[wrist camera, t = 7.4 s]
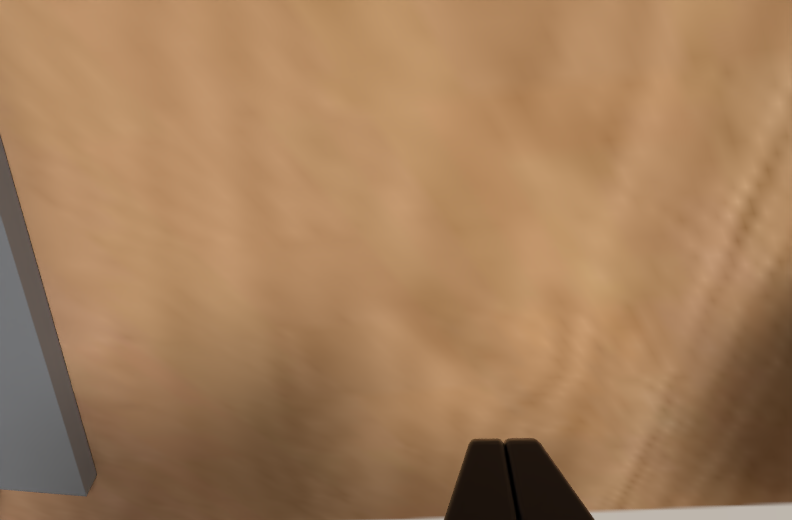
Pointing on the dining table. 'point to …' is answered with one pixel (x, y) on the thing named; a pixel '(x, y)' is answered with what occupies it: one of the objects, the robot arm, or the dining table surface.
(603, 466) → the dining table surface
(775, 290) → the dining table surface
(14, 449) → the mounting board
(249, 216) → the dining table surface
